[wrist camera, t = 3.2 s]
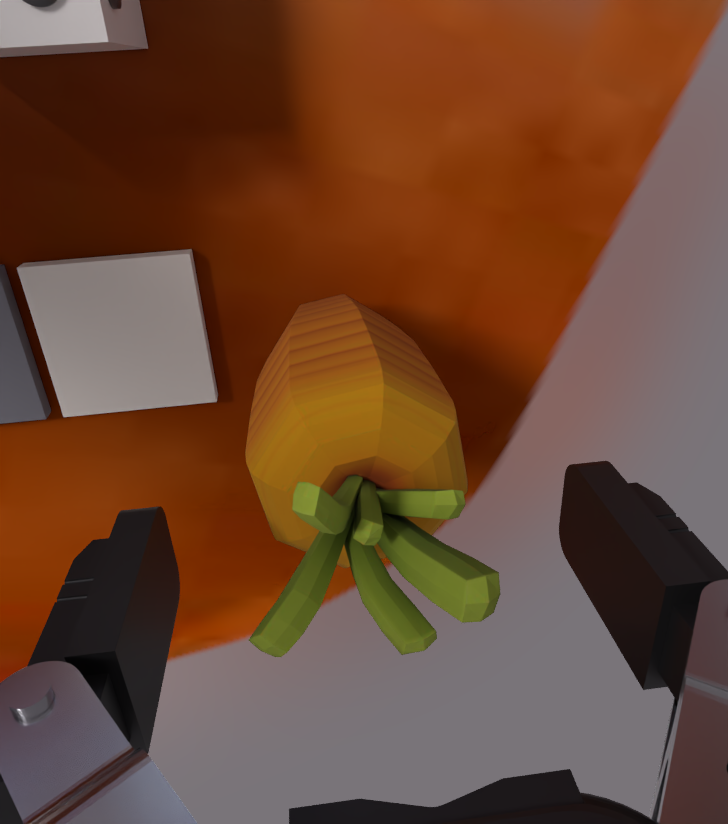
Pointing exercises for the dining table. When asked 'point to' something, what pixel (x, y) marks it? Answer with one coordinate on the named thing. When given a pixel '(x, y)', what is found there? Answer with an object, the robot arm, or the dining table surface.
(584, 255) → the dining table surface
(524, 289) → the dining table surface
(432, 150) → the dining table surface
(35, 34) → the ivory die
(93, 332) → the tile track
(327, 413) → the carrot
